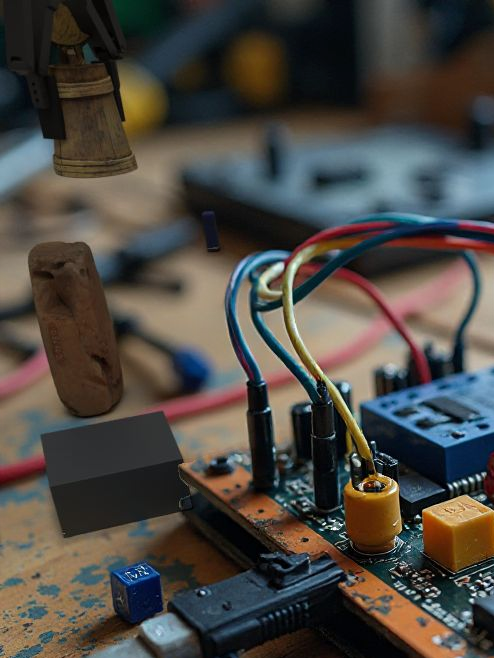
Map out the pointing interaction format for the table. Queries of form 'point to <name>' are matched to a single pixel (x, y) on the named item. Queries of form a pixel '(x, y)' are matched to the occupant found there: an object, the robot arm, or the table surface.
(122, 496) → the riser block
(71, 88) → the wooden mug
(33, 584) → the table surface
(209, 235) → the eraser
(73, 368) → the block
